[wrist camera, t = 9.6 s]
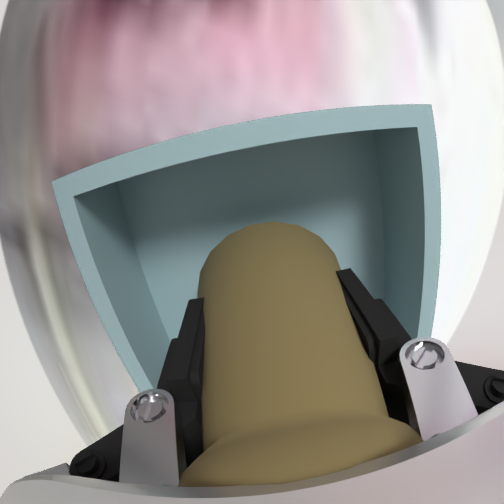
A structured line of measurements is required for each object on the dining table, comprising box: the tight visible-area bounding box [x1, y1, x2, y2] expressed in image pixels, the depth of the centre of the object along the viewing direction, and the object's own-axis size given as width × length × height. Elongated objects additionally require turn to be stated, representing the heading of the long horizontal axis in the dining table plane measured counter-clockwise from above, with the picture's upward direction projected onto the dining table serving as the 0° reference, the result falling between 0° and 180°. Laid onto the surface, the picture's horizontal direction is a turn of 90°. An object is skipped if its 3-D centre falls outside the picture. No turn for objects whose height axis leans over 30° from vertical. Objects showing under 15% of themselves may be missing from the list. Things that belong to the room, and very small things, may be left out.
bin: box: [52, 104, 441, 393], centre depth 13 cm, size 14×14×4 cm
